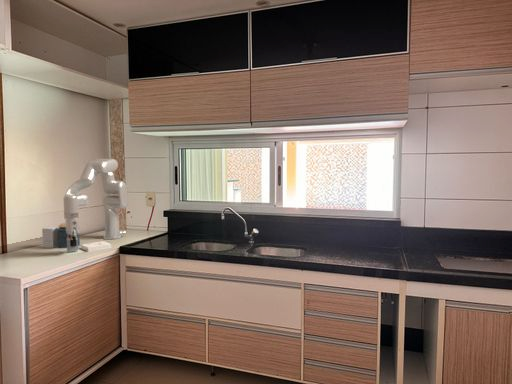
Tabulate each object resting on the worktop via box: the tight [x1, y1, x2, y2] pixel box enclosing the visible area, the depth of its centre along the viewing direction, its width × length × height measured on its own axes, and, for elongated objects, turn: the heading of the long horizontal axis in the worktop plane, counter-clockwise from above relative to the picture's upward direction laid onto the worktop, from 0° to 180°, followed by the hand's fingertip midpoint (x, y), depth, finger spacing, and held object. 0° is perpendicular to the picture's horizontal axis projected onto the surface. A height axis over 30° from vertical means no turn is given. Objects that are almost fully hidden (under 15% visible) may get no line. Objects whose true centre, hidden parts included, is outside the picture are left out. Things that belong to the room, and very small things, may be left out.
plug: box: [66, 237, 79, 252], centre depth 209 cm, size 5×4×8 cm
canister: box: [57, 222, 81, 249], centre depth 226 cm, size 13×13×18 cm
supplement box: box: [41, 226, 59, 249], centre depth 226 cm, size 7×7×13 cm
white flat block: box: [80, 240, 112, 252], centre depth 219 cm, size 14×12×3 cm
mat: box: [61, 248, 84, 256], centre depth 209 cm, size 10×10×1 cm
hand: (72, 245), depth 209 cm, fingers closed on plug, 3 cm apart
